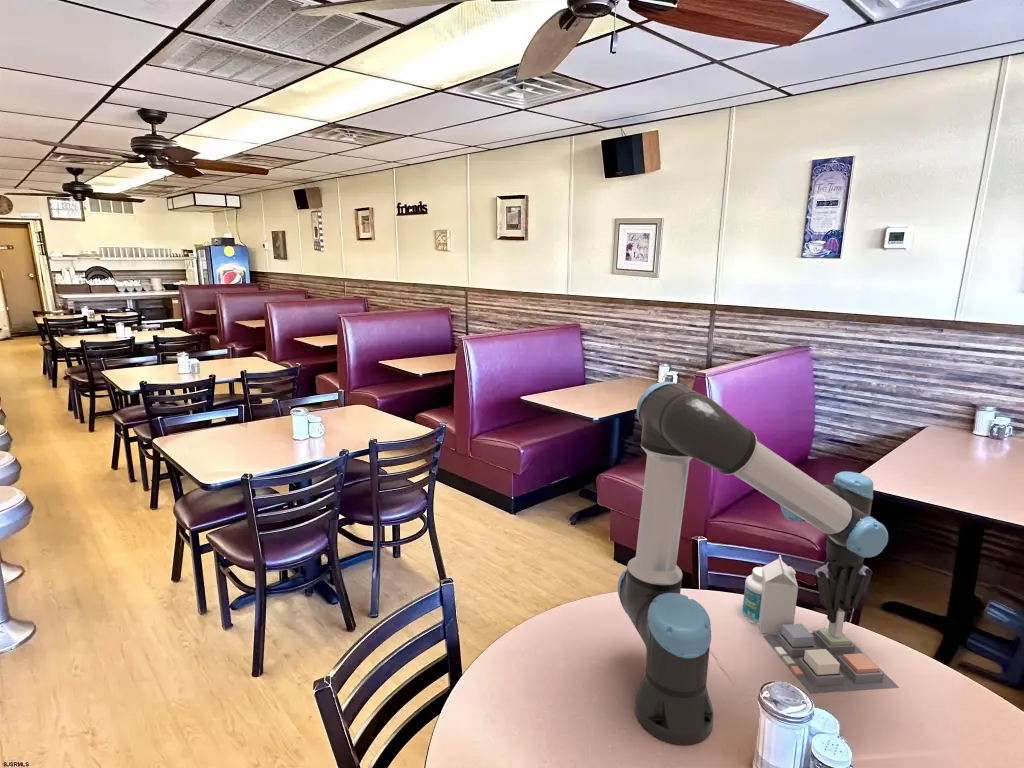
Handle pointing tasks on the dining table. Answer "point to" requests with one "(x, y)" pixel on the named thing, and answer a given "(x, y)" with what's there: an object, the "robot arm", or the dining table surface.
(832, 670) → the cream key
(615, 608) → the dining table surface
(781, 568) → the milk carton
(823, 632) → the sage key
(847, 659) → the terracotta key
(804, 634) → the slate key
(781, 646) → the keypad
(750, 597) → the pill bottle
